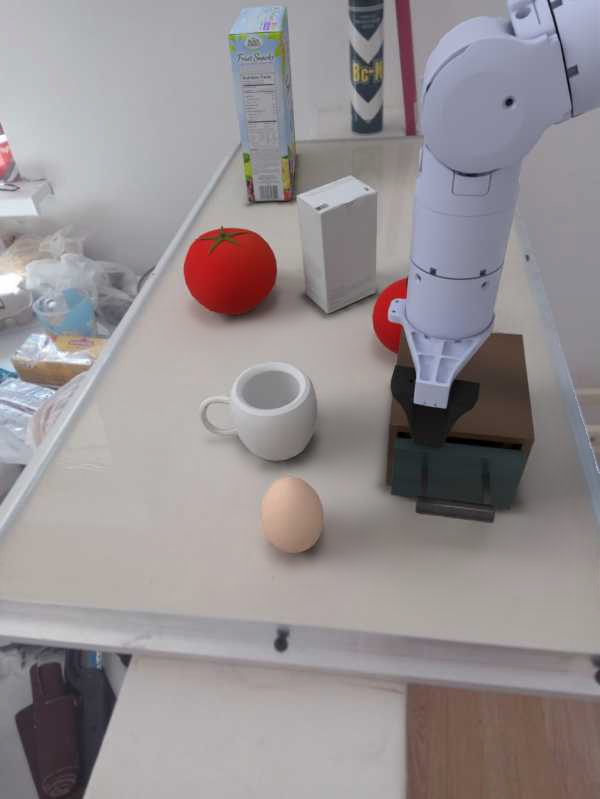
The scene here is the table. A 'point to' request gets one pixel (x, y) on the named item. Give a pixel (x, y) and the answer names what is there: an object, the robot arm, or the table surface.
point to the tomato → (230, 270)
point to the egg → (292, 515)
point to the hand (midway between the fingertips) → (434, 407)
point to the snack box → (264, 101)
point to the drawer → (457, 476)
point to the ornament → (381, 324)
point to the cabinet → (482, 397)
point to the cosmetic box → (339, 242)
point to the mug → (269, 410)
